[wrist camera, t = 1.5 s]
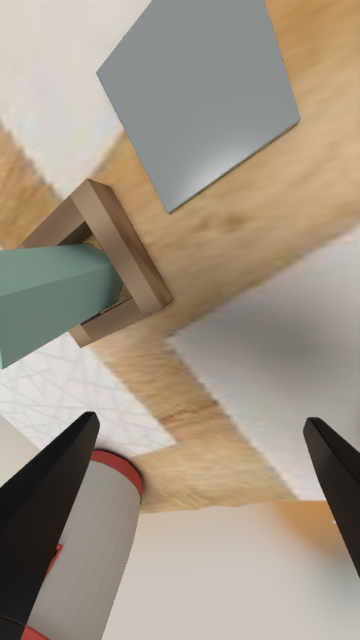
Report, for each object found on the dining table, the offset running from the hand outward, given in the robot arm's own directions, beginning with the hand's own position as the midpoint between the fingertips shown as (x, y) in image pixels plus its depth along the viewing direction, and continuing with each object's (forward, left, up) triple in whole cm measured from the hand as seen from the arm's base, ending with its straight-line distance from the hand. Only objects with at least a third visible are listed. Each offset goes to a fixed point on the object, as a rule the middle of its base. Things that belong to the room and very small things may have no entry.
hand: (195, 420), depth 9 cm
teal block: (+9, +9, -12) cm, 17 cm away
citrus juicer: (-19, +30, -12) cm, 37 cm away
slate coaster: (+15, -5, -12) cm, 20 cm away
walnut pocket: (+9, +9, -12) cm, 17 cm away
